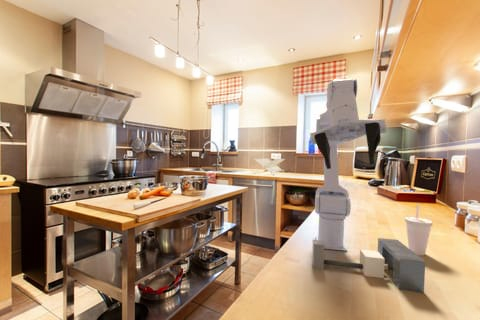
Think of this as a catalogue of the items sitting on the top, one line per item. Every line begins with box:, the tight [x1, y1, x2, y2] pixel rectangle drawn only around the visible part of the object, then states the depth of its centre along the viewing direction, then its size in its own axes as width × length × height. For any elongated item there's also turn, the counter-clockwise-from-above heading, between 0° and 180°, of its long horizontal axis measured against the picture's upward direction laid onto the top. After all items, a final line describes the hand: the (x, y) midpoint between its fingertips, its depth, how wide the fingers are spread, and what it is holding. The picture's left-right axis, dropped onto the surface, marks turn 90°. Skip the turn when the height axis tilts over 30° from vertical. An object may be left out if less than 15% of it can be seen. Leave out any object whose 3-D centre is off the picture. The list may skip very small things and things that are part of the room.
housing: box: [377, 237, 426, 293], centre depth 52 cm, size 12×4×6 cm, turn 168°
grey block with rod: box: [311, 239, 389, 279], centre depth 54 cm, size 4×16×6 cm, turn 78°
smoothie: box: [404, 204, 433, 256], centre depth 65 cm, size 6×6×14 cm
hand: (348, 163), depth 43 cm, fingers open, 7 cm apart
